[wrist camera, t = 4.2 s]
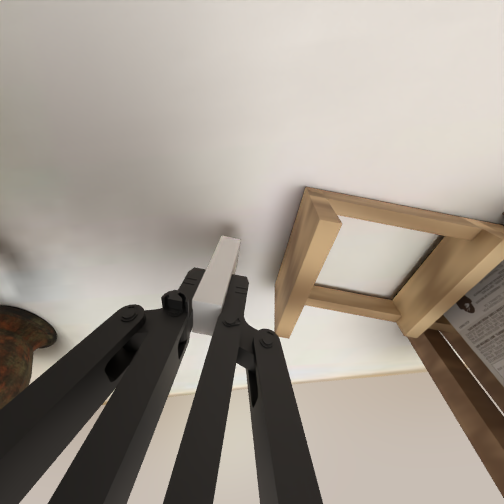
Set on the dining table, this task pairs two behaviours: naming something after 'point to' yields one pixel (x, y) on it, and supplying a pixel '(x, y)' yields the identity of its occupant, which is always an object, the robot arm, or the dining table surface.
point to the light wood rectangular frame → (418, 286)
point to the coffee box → (483, 320)
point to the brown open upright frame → (467, 395)
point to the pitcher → (19, 349)
